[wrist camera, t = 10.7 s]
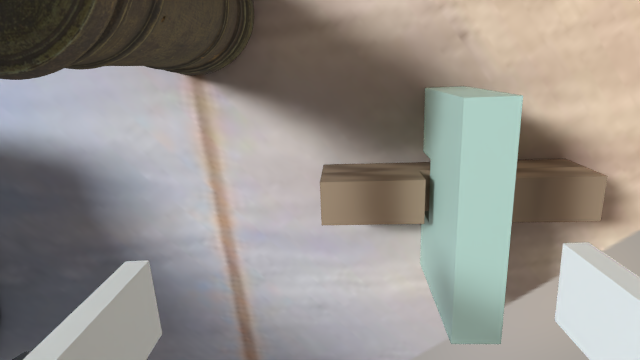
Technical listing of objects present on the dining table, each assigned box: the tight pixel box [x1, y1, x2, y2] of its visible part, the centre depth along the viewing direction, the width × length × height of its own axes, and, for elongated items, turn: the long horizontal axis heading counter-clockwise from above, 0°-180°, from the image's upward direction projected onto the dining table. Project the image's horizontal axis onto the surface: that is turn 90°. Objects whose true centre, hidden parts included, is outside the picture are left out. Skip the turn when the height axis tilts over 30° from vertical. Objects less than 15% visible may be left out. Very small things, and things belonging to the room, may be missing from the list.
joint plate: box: [420, 86, 523, 344], centre depth 27 cm, size 14×3×10 cm, turn 2°
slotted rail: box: [320, 159, 608, 225], centre depth 29 cm, size 18×3×5 cm, turn 92°
